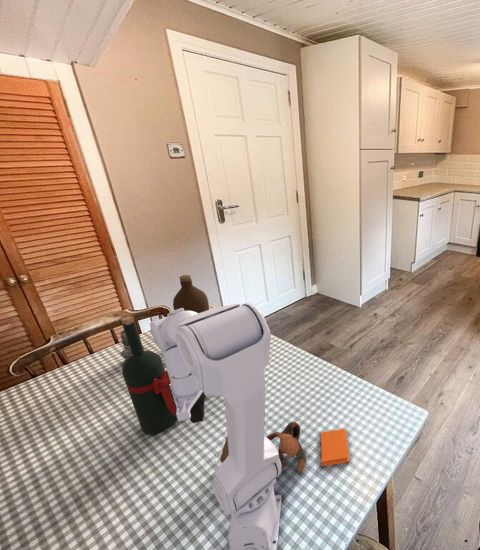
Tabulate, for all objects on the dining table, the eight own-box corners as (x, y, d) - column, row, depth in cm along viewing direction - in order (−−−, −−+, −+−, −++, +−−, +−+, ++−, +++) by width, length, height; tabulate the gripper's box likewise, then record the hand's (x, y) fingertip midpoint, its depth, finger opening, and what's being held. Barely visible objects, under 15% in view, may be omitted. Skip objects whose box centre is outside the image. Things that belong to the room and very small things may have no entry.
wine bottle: (167, 440, 72) (132, 331, 61) (133, 431, 74) (94, 324, 63) (193, 414, 79) (165, 313, 68) (161, 406, 81) (130, 307, 70)
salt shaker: (126, 356, 101) (115, 325, 97) (147, 352, 103) (137, 321, 99) (121, 367, 96) (109, 335, 92) (143, 362, 98) (133, 330, 94)
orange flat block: (349, 462, 67) (348, 458, 66) (321, 466, 66) (321, 462, 66) (345, 431, 74) (345, 428, 74) (320, 435, 73) (320, 431, 73)
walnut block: (248, 470, 65) (245, 454, 63) (224, 474, 64) (220, 457, 62) (253, 449, 70) (250, 434, 68) (230, 453, 69) (226, 437, 67)
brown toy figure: (301, 489, 62) (276, 470, 58) (267, 489, 66) (242, 472, 62) (318, 430, 71) (297, 411, 68) (288, 434, 75) (267, 416, 72)
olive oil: (198, 329, 117) (185, 269, 108) (221, 334, 114) (209, 272, 105) (175, 345, 107) (158, 280, 98) (200, 350, 105) (184, 284, 95)
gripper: (201, 389, 56) (214, 442, 61) (211, 345, 68) (221, 392, 73) (157, 398, 54) (174, 452, 59) (176, 351, 66) (189, 399, 71)
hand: (198, 419), depth 66 cm, fingers closed
